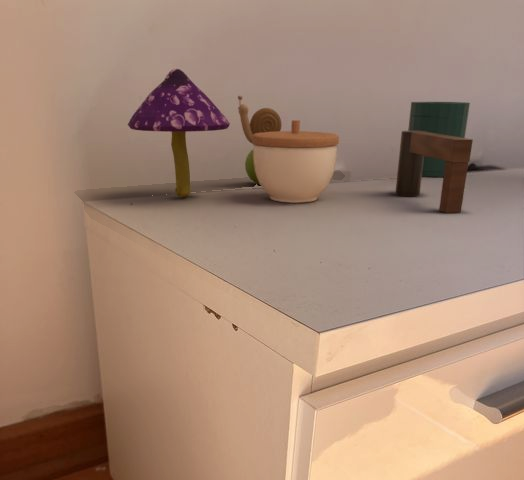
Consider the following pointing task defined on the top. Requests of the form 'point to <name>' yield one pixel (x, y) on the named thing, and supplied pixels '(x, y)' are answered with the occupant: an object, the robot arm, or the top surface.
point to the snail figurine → (257, 130)
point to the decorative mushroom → (178, 119)
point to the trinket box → (294, 163)
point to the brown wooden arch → (440, 148)
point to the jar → (438, 126)
